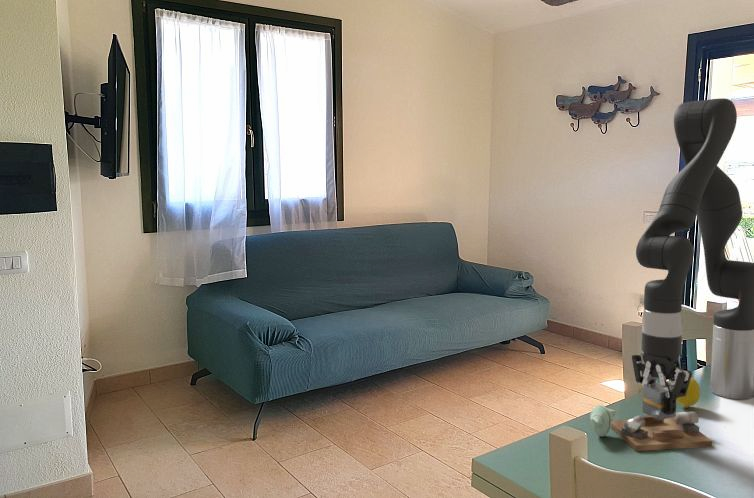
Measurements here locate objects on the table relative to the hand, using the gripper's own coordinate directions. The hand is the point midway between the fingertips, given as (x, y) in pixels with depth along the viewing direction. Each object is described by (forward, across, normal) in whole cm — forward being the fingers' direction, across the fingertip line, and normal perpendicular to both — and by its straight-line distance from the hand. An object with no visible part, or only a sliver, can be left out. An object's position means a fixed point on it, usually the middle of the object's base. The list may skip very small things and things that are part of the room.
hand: (659, 408), depth 124 cm
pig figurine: (+6, +5, +11) cm, 14 cm away
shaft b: (+5, 0, +6) cm, 8 cm away
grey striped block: (+1, 0, 0) cm, 1 cm away
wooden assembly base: (+6, 0, 0) cm, 6 cm away
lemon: (+6, +8, -17) cm, 20 cm away
